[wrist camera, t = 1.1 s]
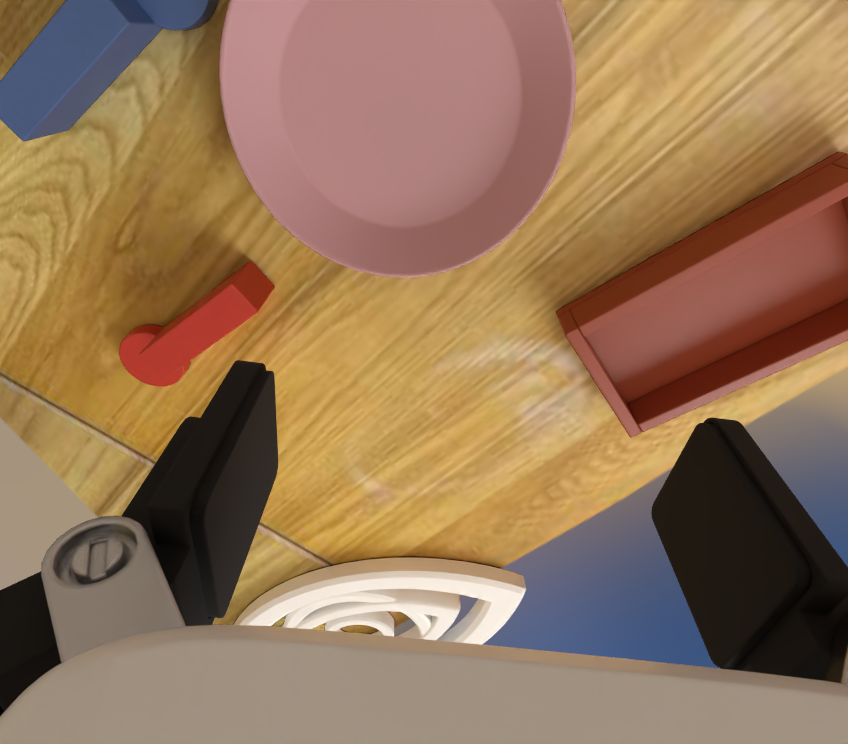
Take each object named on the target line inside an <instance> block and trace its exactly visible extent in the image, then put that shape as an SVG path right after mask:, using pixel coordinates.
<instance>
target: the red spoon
mask: <svg viewBox="0 0 848 744" xmlns="http://www.w3.org/2000/svg"><path fill="white" fill-rule="evenodd" d="M273 289H274V285H273V284H272V283H271V282H270V281H269V280H268V279H267V277H266V276H265V275H264V274H263V273H262V272H261V271H260V270H259V269H258V268H257V267H256V265H255V264H254V263H253V262H252V261H250V262H248V263H247V264H246V265H244V266H243V267H242V268H241V269H239V270H238V271H237V272H235V273H234V274H233V275H231V276H230V277H229V278H228V279H226V280H225V281H224V282H222V283H221V284H220V285H219V286H217V287H216V288H215V289H213V290H212V291H211V292H209V293H208V294H207V295H206V296H204V297H203V298H202V299H200V300H199V301H198V302H196V303H195V304H194V305H193V306H191V307H190V308H189V309H187V310H186V311H185V312H184V313H182V314H181V315H180V316H178V317H177V318H176V319H174V320H173V321H172V322H171V323H169V324H168V325H167V326H165V327H161V326H157V325H143V326H139V327H137V328H135V329H134V330H133V331H132V332H131V333H129V334H128V335H127V336H126V337H125V338H124V339H123V341H122V342H121V344H120V348H119V355H120V359H121V362H122V364H123V365H124V367H125V368H126V370H127V371H128V372H129V373H130V374H131V375H132V376H134V377H135V378H137V379H138V380H140V381H142V382H144V383H146V384H149V385H153V386H168V385H172V384H174V383H176V382H177V381H179V380H180V378H181V377H182V376H183V375H184V373H185V372H186V371H187V369H188V368H189V365H190V360H192V359H193V358H195V357H196V356H197V355H199V354H200V353H202V352H203V351H204V350H206V349H207V348H209V347H210V346H211V345H213V344H214V343H216V342H217V341H218V340H220V339H221V338H222V337H224V336H225V335H227V334H228V333H229V332H231V331H232V330H234V329H235V328H236V327H238V326H239V325H241V324H242V323H243V322H245V321H246V320H247V319H249V318H250V317H252V316H253V315H254V314H256V313H257V312H258V311H259V310H260V308H261V307H262V305H263V304H264V302H265V301H266V299H267V298H268V296H269V295H270V293H271V292H272V291H273Z"/></svg>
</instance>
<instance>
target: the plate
mask: <svg viewBox="0 0 848 744" xmlns="http://www.w3.org/2000/svg"><path fill="white" fill-rule="evenodd" d="M219 82H220V94H221V102H222V108H223V113H224V118H225V123H226V127H227V131H228V134H229V137H230V140H231V143H232V146H233V149H234V152H235V154H236V156H237V159H238V161H239V163H240V166H241V168H242V170H243V172H244V174H245V176H246V177H247V179H248V181H249V183H250V184H251V186H252V188H253V189H254V191H255V192H256V194H257V195H258V197H259V198H260V200H261V201H262V202H263V204H264V205H265V206H266V208H267V209H268V210H269V211H270V213H271V214H272V215H273V216H274V217H275V218H276V219H277V220H278V222H279V223H280V224H281V225H282V226H283V227H284V228H285V229H287V230H288V231H289V232H290V233H291V234H292V235H293V236H294V237H296V238H297V239H298V240H299V241H301V242H302V243H303V244H305V245H306V246H308V247H309V248H310V249H312V250H314V251H315V252H317V253H318V254H320V255H322V256H324V257H325V258H327V259H329V260H331V261H333V262H336V263H338V264H340V265H342V266H345V267H348V268H351V269H354V270H357V271H360V272H364V273H368V274H373V275H379V276H386V277H419V276H427V275H433V274H438V273H442V272H445V271H449V270H452V269H455V268H458V267H460V266H463V265H465V264H468V263H470V262H472V261H474V260H476V259H478V258H480V257H481V256H483V255H485V254H486V253H488V252H490V251H491V250H493V249H494V248H496V247H497V246H498V245H500V244H501V243H502V242H503V241H505V240H506V239H507V238H508V237H509V236H511V235H512V234H513V233H514V232H515V231H516V230H517V229H518V228H519V227H520V226H521V225H522V224H523V223H524V222H525V221H526V219H527V218H528V217H529V216H530V215H531V213H532V212H533V211H534V209H535V208H536V207H537V205H538V204H539V203H540V201H541V199H542V198H543V196H544V195H545V193H546V192H547V190H548V188H549V186H550V184H551V183H552V181H553V179H554V177H555V175H556V172H557V170H558V168H559V165H560V163H561V160H562V158H563V155H564V152H565V149H566V146H567V142H568V139H569V135H570V130H571V126H572V120H573V114H574V106H575V93H576V71H575V58H574V49H573V43H572V37H571V33H570V28H569V24H568V21H567V17H566V14H565V11H564V8H563V5H562V2H561V0H230V2H229V5H228V8H227V12H226V16H225V20H224V25H223V30H222V36H221V44H220V57H219Z"/></svg>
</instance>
